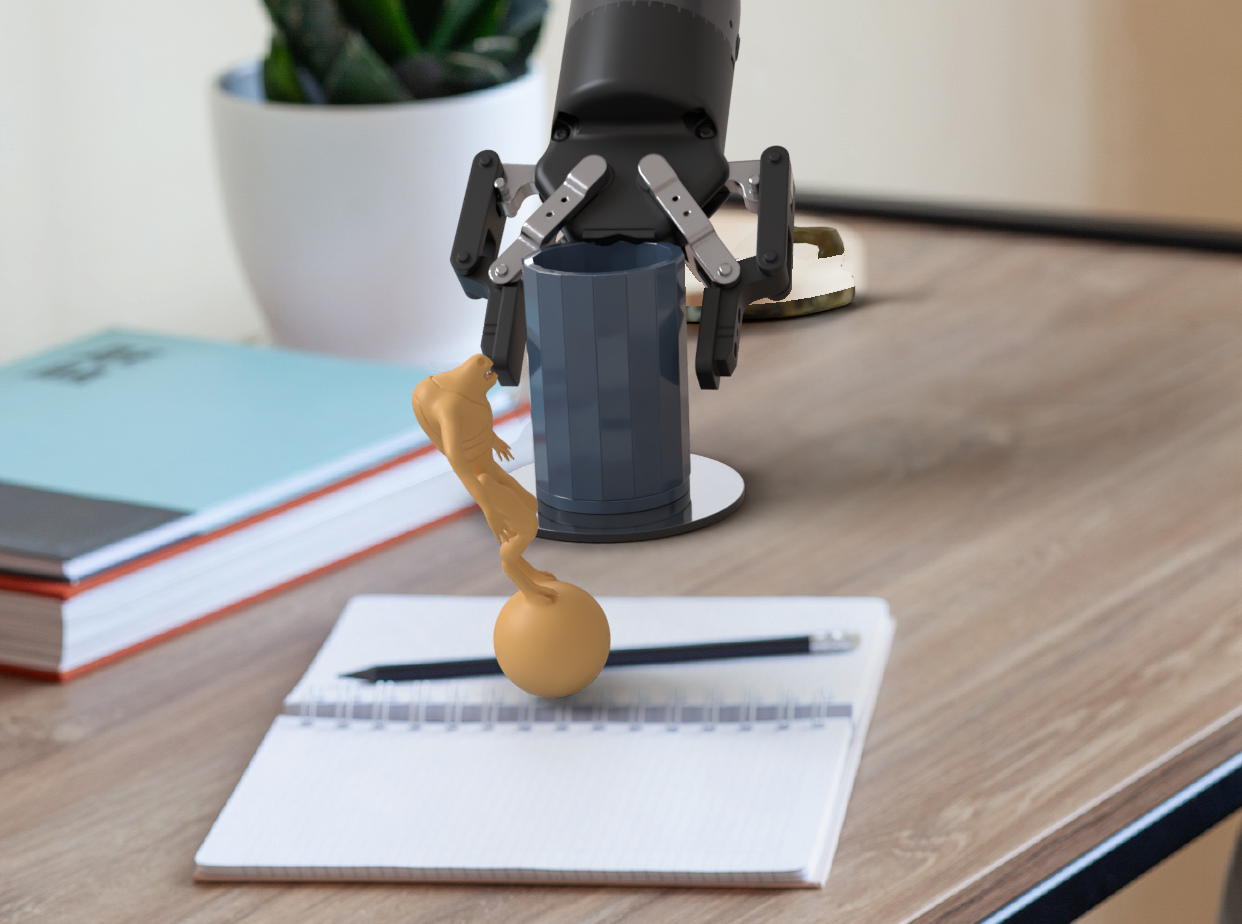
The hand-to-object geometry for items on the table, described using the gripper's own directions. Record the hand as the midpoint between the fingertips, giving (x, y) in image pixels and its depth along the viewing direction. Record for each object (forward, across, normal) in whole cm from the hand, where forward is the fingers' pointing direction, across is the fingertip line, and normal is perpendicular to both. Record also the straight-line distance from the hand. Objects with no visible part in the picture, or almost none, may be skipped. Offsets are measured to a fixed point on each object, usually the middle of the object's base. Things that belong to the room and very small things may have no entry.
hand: (604, 379), depth 86 cm
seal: (-20, -1, +28) cm, 35 cm away
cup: (+3, 0, +5) cm, 5 cm away
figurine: (+17, +1, -9) cm, 20 cm away
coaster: (+3, 0, +5) cm, 6 cm away
